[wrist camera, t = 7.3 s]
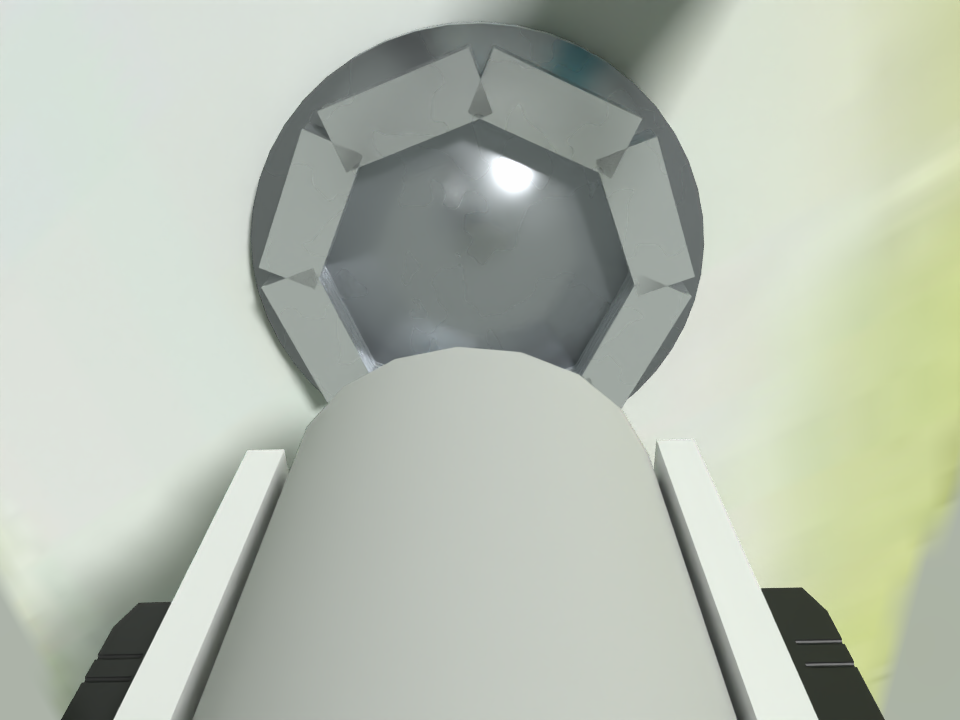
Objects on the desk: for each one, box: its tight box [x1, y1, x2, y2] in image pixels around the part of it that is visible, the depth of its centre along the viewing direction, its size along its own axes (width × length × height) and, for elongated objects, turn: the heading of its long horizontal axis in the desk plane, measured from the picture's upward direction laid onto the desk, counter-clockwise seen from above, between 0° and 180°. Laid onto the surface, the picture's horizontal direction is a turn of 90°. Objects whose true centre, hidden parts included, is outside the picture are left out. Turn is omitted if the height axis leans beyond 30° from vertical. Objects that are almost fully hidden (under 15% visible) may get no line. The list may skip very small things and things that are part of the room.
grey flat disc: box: [251, 21, 704, 408], centre depth 26 cm, size 16×16×2 cm
